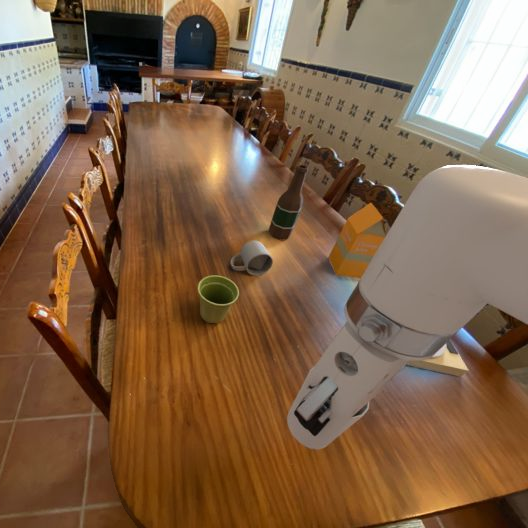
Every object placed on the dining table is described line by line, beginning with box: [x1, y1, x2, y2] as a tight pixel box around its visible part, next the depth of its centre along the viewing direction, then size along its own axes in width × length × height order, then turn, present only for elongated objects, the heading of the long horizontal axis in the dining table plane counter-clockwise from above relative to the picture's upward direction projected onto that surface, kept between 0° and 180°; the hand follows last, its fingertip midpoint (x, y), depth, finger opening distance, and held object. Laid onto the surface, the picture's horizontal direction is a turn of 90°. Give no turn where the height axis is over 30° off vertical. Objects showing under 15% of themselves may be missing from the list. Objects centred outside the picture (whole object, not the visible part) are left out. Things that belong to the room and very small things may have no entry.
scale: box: [405, 339, 470, 378], centre depth 69 cm, size 17×15×4 cm
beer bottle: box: [268, 164, 309, 241], centre depth 95 cm, size 8×8×24 cm
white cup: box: [286, 365, 370, 450], centre depth 37 cm, size 7×7×10 cm
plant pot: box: [197, 274, 240, 324], centre depth 70 cm, size 9×9×9 cm
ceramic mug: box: [230, 240, 274, 276], centre depth 85 cm, size 11×8×8 cm
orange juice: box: [328, 202, 387, 280], centre depth 84 cm, size 8×9×20 cm
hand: (322, 409), depth 37 cm, fingers closed on white cup, 5 cm apart
